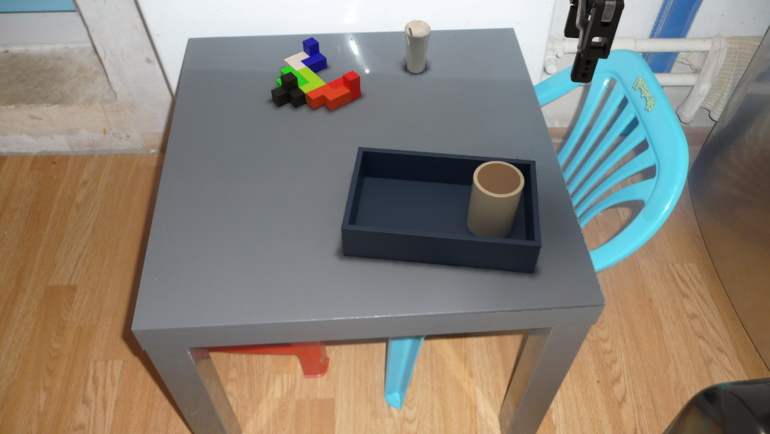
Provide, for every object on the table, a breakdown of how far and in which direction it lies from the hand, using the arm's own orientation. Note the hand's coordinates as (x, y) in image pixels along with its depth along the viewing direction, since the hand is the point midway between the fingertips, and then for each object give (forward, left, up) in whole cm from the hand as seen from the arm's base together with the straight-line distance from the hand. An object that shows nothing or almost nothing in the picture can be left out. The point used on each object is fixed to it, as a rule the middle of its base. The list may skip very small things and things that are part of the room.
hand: (576, 57), depth 65 cm
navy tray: (+8, +11, -26) cm, 29 cm away
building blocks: (+45, +6, -26) cm, 52 cm away
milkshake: (+36, -12, -26) cm, 46 cm away
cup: (+3, +7, -26) cm, 27 cm away
